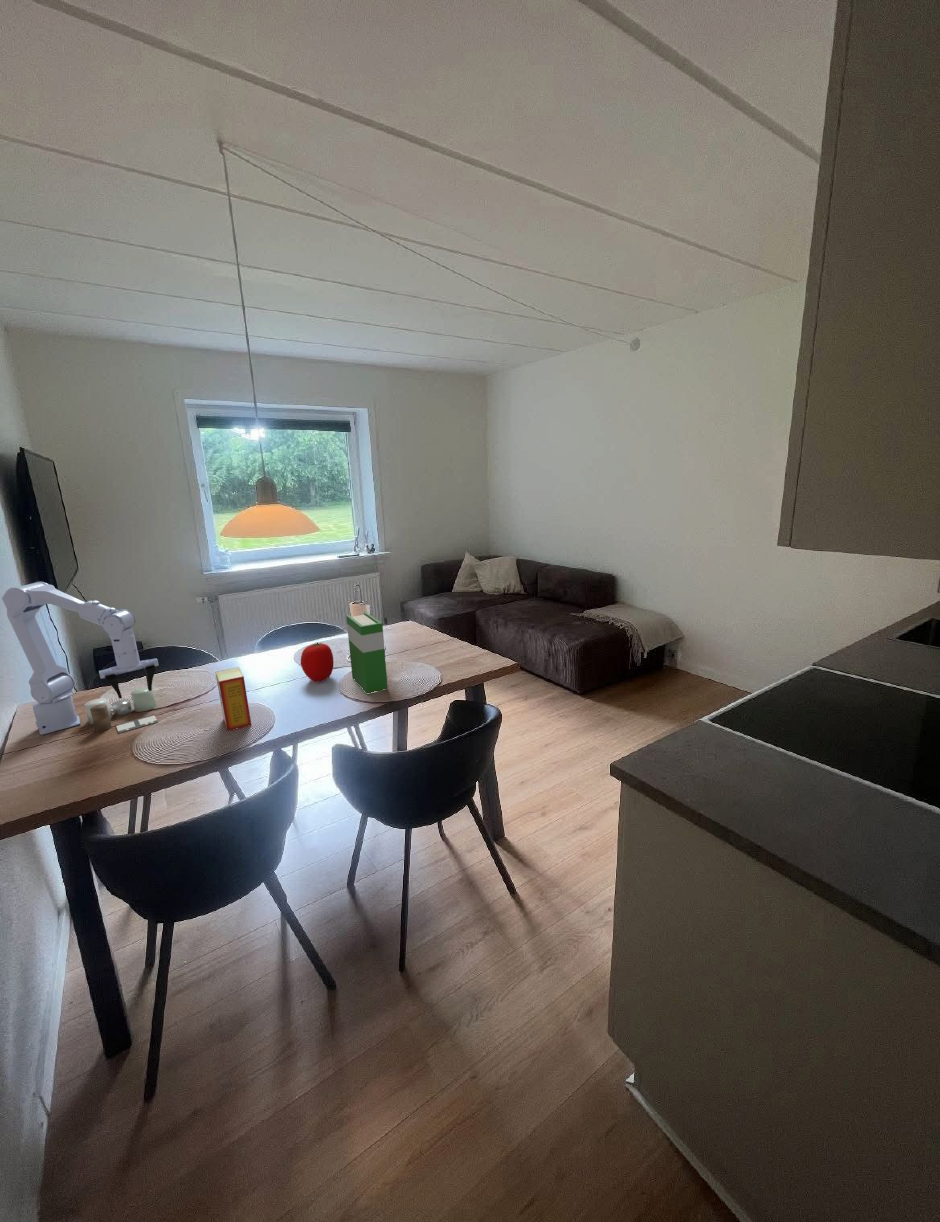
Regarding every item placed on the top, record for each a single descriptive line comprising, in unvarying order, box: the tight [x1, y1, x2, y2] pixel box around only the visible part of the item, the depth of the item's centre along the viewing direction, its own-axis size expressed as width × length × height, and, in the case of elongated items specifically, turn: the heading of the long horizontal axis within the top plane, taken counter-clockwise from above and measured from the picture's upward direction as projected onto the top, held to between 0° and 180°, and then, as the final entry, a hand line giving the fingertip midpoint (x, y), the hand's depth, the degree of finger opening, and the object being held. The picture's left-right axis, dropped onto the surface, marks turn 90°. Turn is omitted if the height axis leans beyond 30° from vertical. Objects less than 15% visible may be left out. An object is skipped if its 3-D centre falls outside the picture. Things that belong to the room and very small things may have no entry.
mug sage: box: [130, 686, 157, 713], centre depth 160 cm, size 6×8×6 cm
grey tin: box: [111, 699, 133, 717], centre depth 157 cm, size 5×5×4 cm
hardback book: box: [345, 611, 389, 694], centre depth 171 cm, size 18×7×24 cm, turn 29°
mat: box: [115, 714, 159, 734], centre depth 149 cm, size 10×7×1 cm
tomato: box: [300, 642, 334, 683], centre depth 178 cm, size 13×11×14 cm
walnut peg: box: [90, 704, 113, 733], centre depth 146 cm, size 4×4×7 cm
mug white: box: [84, 697, 113, 725], centre depth 153 cm, size 6×8×6 cm
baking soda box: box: [214, 666, 252, 732], centre depth 146 cm, size 10×6×16 cm
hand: (135, 693), depth 148 cm, fingers open, 7 cm apart
